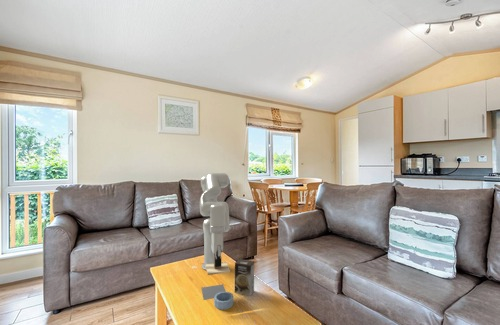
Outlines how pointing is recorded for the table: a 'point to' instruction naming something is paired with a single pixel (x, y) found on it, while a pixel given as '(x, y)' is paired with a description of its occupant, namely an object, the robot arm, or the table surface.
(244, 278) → the coffee box
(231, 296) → the bowl
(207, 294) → the mat
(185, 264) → the table surface
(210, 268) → the lid
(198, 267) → the table surface
